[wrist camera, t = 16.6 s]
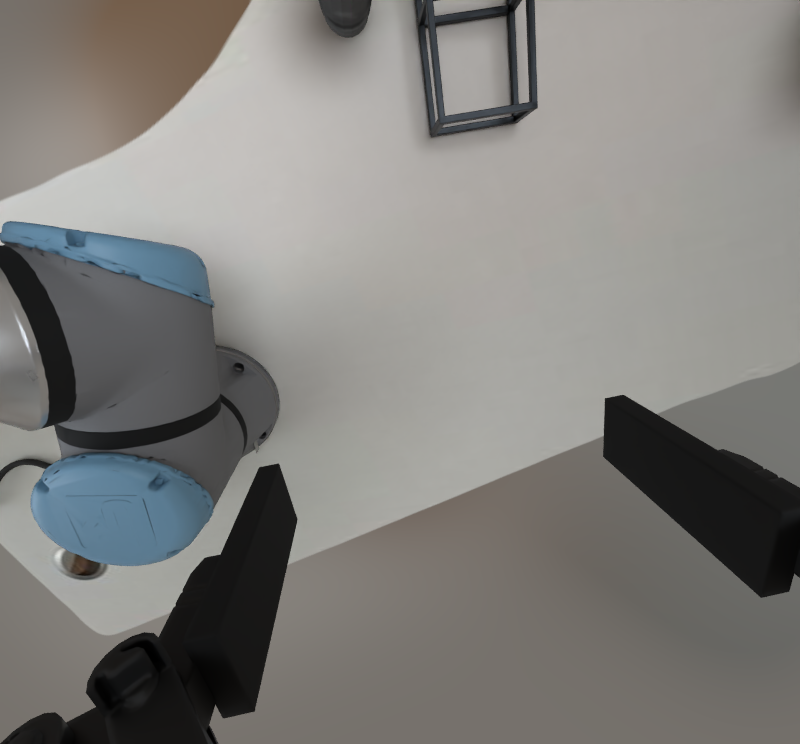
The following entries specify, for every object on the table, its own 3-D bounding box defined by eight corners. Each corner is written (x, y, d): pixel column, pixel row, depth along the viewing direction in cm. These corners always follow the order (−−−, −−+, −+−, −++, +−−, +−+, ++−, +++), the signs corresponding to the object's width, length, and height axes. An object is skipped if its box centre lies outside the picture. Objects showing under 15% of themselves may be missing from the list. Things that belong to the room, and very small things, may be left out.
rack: (430, 137, 41) (439, 123, 37) (401, -109, 34) (408, -166, 30) (517, 122, 42) (537, 107, 37) (506, -124, 35) (529, -182, 30)
